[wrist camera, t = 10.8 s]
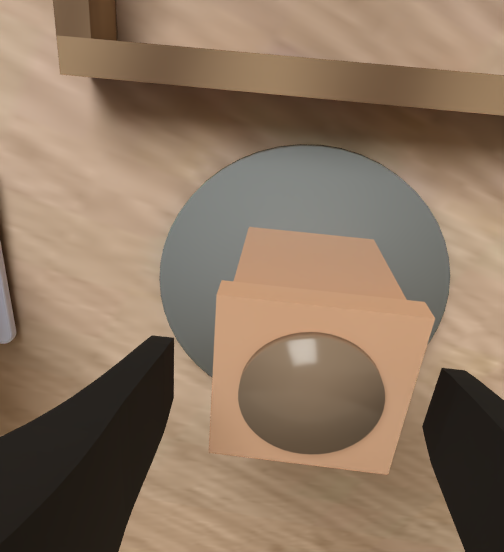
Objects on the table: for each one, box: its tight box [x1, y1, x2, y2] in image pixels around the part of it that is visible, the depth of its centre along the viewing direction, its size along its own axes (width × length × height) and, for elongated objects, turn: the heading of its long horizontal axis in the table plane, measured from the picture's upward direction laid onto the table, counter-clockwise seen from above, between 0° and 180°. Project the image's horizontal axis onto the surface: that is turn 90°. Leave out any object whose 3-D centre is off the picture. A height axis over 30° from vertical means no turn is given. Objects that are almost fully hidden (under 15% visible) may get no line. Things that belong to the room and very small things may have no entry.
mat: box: [160, 144, 450, 377], centre depth 17 cm, size 11×11×1 cm
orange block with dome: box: [209, 227, 435, 475], centre depth 13 cm, size 5×5×6 cm
